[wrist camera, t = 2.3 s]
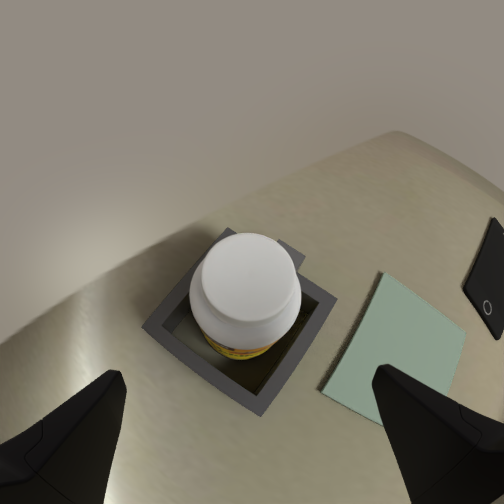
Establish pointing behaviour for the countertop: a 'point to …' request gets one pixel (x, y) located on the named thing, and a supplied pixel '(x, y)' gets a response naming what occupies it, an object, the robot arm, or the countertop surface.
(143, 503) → the countertop surface
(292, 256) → the collar
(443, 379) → the mat
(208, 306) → the supplement bottle
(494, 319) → the cell phone
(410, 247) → the countertop surface
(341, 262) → the countertop surface
